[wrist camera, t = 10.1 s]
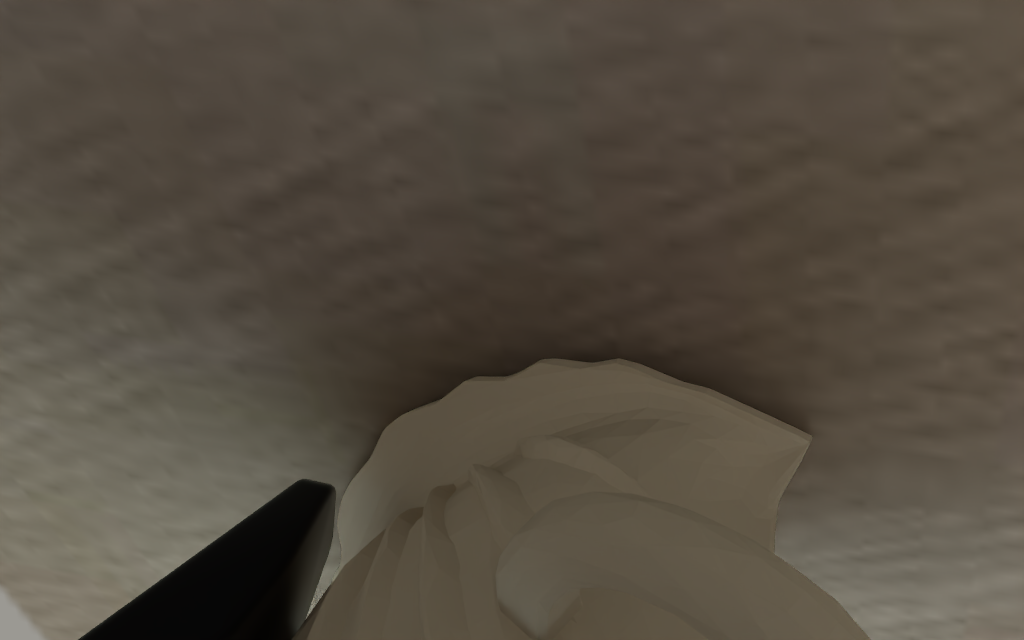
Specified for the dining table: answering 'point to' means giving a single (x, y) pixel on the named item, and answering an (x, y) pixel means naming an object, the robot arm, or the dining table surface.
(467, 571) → the decorative ornament
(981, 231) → the dining table surface
